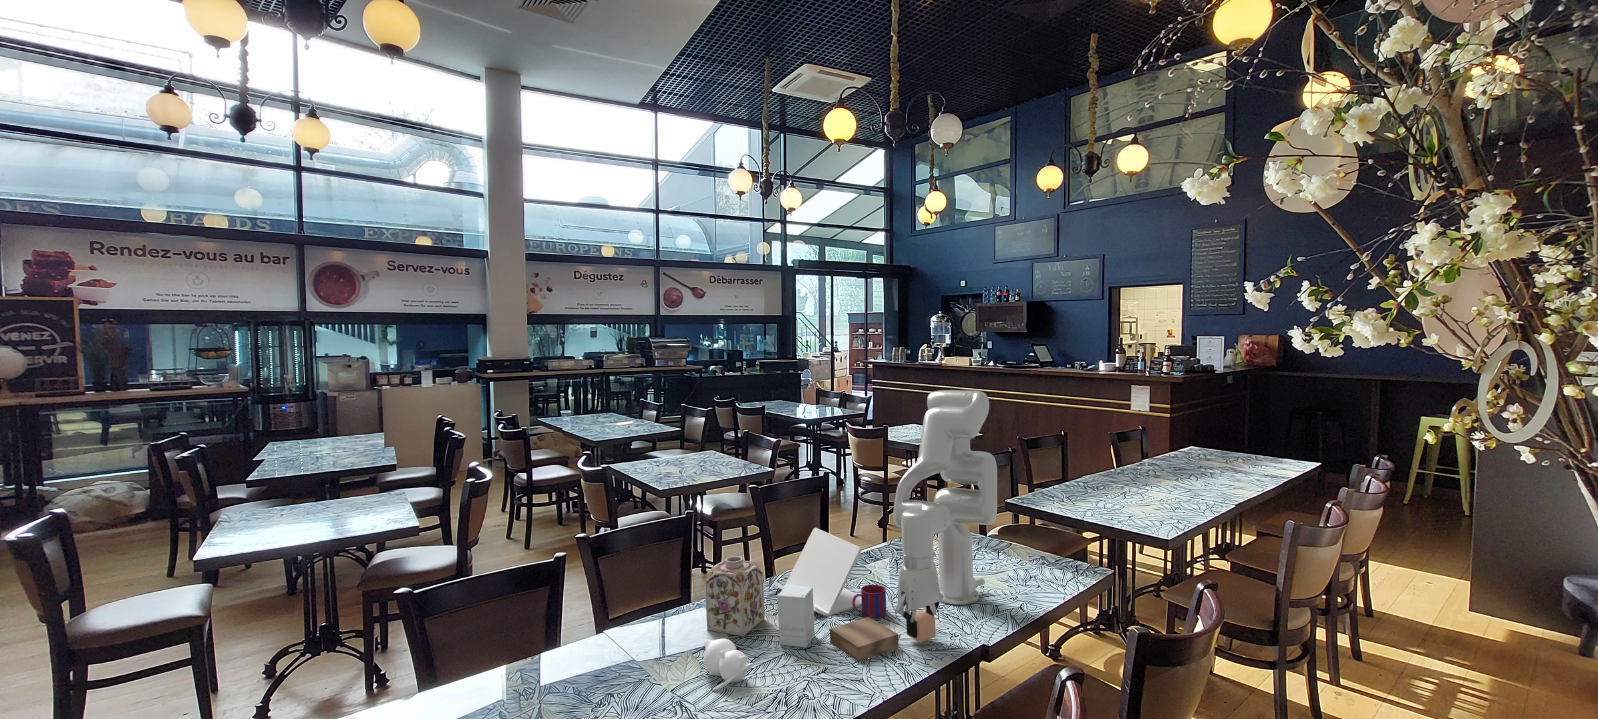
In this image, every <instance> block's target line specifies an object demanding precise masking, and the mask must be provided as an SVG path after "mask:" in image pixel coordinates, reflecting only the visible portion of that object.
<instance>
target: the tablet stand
mask: <svg viewBox="0 0 1598 719" xmlns="http://www.w3.org/2000/svg"><path fill="white" fill-rule="evenodd" d="M861 552H862V547H860V546H859V545H856V544H854V543H852V542H849V541H847V540H845V539H842V538H841V537H839V536H835V535H833V534H831V533H829V532H826V531H825V530H822V529H819V528H818V527H814V528H813V529H812V531H811V533H810V535H809V536H808V538H807V541H806V543H805V545H804V547H803V549H802V551H801V552H800V554H799V557H798V559H797V560H796V563H795V564H794V566H793V568H792V571H791V573H790V574H789V576H788V578H787V580H786V582H785V584H784V585H783V584H781V583H779V582H777V581H774V583H773V585H774V586H776V587H778V588H779V589H781V591H782V590H783V589H784V588H785V587H786V586H787V585H792V586H804V587H813V605H814V612H816V613H818V614H820V615H822V616H824V617H829V616H832V615H836V614H839V613H842V612H845V611H850V610H853V609H854V608H853V605H852V600H853V597H854V596H855V595H856V594H857V593H854V592H853V591H851V590H849V589H847V588H845V585H846V584H847V581H848V579H849V578H850V576H851V573H852V571H853V570H854V567H855V564H857V561H858V559H859V557H860V554H861ZM855 607H856V609H857V608H860V607H861V608H862V600H861V596H858V597H857V598H856V600H855Z"/></svg>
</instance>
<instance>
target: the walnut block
mask: <svg viewBox="0 0 1598 719" xmlns="http://www.w3.org/2000/svg"><path fill="white" fill-rule="evenodd" d="M829 643H830V644H831V645H833V647H835V646H836V647H835V648H837V649H838V648H839V649H838V650H840V651H841V650H842V651H841V652H843V653H844V652H845V653H844V654H846V655H847V654H848V655H847V656H849V655H850V656H851V657H852V658H851V657H850V656H849V657H850V658H851V659H853V658H854V659H855V660H854V659H853V660H854V661H856V660H857V661H858V662H857V661H856V662H857V663H861V662H864V661H867V660H869V659H868V658H870V659H873V658H875V657H874V656H876V657H879V656H882V655H885V654H887V653H890V652H893V651H896V650H899V633H898V632H895V631H893V630H892V629H891V628H888V627H887V626H885V625H884V624H881V623H880V622H878V621H876V620H874V618H869V617H864V618H861V619H857V620H854V621H850V622H848V623H844V624H841V625H837V626H834V627H831V628H829ZM881 654H882V655H881ZM878 655H879V656H878ZM872 657H873V658H872ZM866 659H867V660H866ZM863 660H864V661H863ZM860 661H861V662H860Z"/></svg>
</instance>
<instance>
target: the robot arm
mask: <svg viewBox="0 0 1598 719" xmlns="http://www.w3.org/2000/svg"><path fill="white" fill-rule="evenodd" d="M926 398H927V399H926V406H927V410H926V412H925V414H924V416H923V422H922V427H921V434H920V435H921V436H920V442H919V450H918V456H917V457H918V458H917V460H916V461H915V463H914V464H913V465H911V466H910V467H909V468H908V470H906V472H905V473H904V475H902V477H901V478H900V481H899V482H898V484H897V487H896V490H895V498H894V502H893V514H892V515H893V516H892V517H893V520H894V523H895V525H896V526H897V527H898V528H901V542H902V543H901V545H902V546H901V547H902V548H901V549H902V550H901V551H902V566H900V568H899V571H898V572H899V573H898V580H897V582H898V583H897V605H896V607H895V609H894V611H895V612H896V613H898V614H899V615H901V617H903V618H904V619H905V624H906V625H907V630H906V635H907V634H909V635H910V636H912V637H914V638H917V622H916V621H915V616H916V612H917V610H919V609H920V610H921V609H923V608H924V609H925V611H924V610H923V611H924V612H926V613H928V614H930V615H932V616H934V617H935V615H937V609H938V608H939V606H940V603H941V602H942V603H945V604H948V605H954V606H955V605H957V606H963V605H965V606H966V605H970V604H971V605H972V604H974V603H976V602H978V601H979V600H980V593H979V591H977V588H978V587H980V586H984V585H985V584H986V581H985V579H984V578H983V577H981V578H976V579H975V578H974V567H973V566H974V564H973V536H972V533H971V532H970V530H969V527H967V525H966V524H973V525H983V526H987V525H992V524H993V523H995V521H996V519H997V513H998V466H997V462H996V459H995V458H996V457H995V456H994V455H993V454H991V453H990V452H987V451H981V450H976V451H975V450H972V449H971V440H972V439H974V438H976V436H978V435H979V432H980V431H981V429H982V427H983V424H984V423H985V421H986V419H987V417H988V414H989V411H990V400H989V397H988V395H987V393H985V392H984V391H980V390H958V389H957V390H956V389H949V390H948V389H943V390H935V391H932V392H930V393H929V394H928V395H927V397H926ZM939 473H940V476H941V478H942V480H944V481H945V482H948V483H952V484H961V485H962V484H965V485H973V486H974V485H975V486H977V487H978V489H971V488H960V487H959V488H958V487H944V488H941V489H939V490H937V492H936V493H935V496H934V498H933V501H926V500H917V499H916V500H915V499H910V496H911V494H912V491H913V489H914V488H915V487H916V486H917V484H918V483H919V482H921V481H923V480H925V479H926V478H928V477H931V476H934V475H936V474H939ZM935 535H937V536H938V537H937V539H938V568H939V569H938V570H939V573H938V570H937V566H936V564H935V562H934V560H935V558H934V557H936V551H935V550H934V536H935ZM938 576H939V577H938ZM910 614H911V615H910ZM906 625H905V626H906Z"/></svg>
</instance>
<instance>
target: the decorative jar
mask: <svg viewBox="0 0 1598 719" xmlns="http://www.w3.org/2000/svg"><path fill="white" fill-rule="evenodd" d="M763 573H764V572H763V571H762V570H761V569H760V567H759V566H758V565H757V564H755V563H754V562H753V561H751V560H744V558H743V557H742V556H740V555H739V556H737V555H735V556H733V555H732V556H729V557H727V558H725V560H724V561H721V562H719V563H717V564H715V565H714V566H712V567H711V569H710V571H709V573H708V575H707V576H706V579H705V609H706V610H705V611H706V612H705V613H706V615H705V616H706V630H707V631H710V632H715V633H722V634H725V635H726V634H727V635H731V636H737V637H745V636H746V635H748V633H750V632H751V631H752V630H754V628H755V627H757V626H758V625H759V624H761V623H762V622H763V621H764V620H765V595H764V594H765V591H764V574H763Z"/></svg>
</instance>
